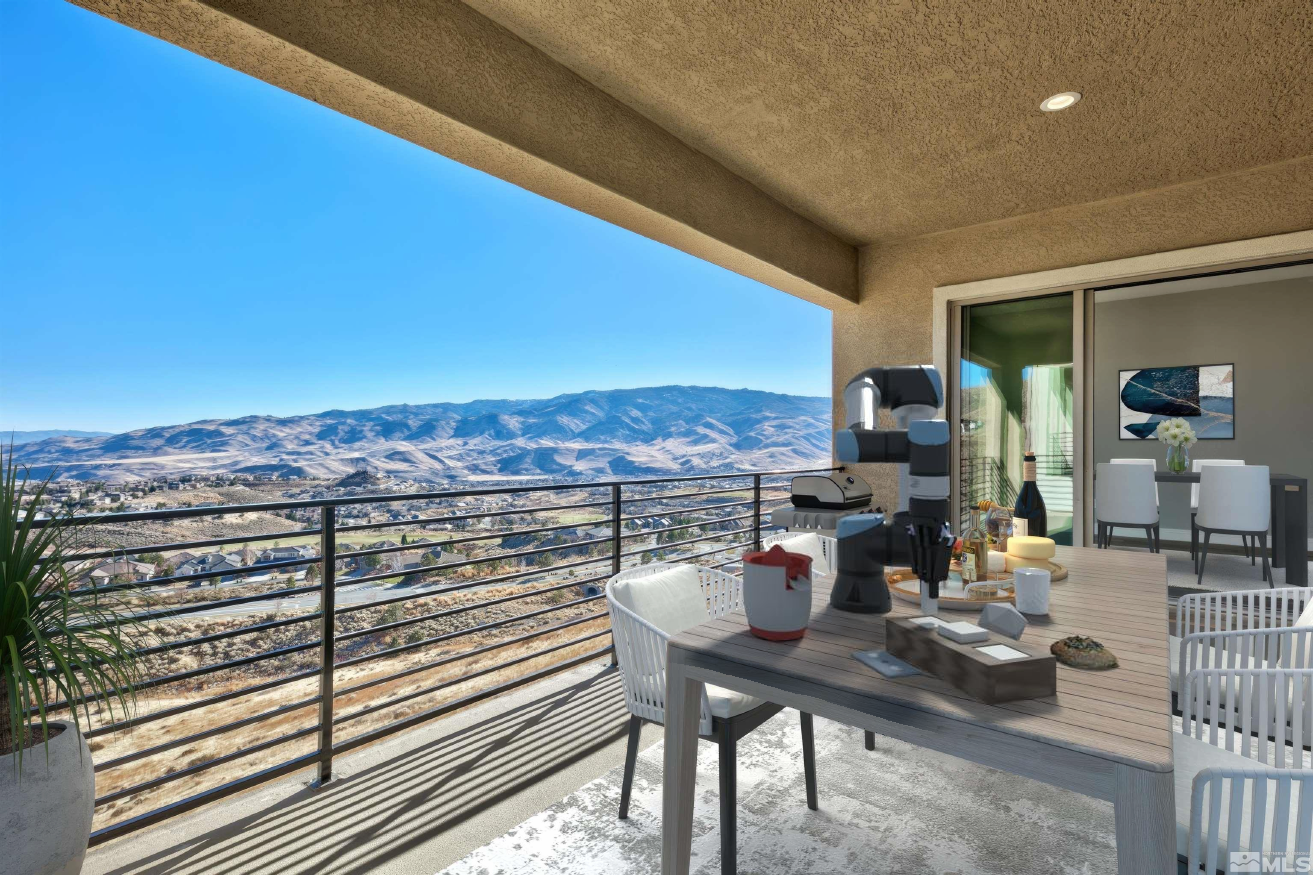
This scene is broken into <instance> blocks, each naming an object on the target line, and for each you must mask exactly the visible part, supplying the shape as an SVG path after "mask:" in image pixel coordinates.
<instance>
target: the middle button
mask: <svg viewBox="0 0 1313 875" xmlns="http://www.w3.org/2000/svg"><path fill="white" fill-rule="evenodd" d="M967 622H968V621H967ZM967 622H955V623H946V624H938V633H939V634H941V635H944V636H946V637H948V638H950V639H953V640H955V641H957V642H960V643H968V642H976V641H984V640H989V631H988V630H985V629H982V628H980V627H977V626H978V625H977V626H975V625H976V624H974V625H972V624H973V623H972V624H970V623H971V622H969V623H967Z"/></svg>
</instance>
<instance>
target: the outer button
mask: <svg viewBox="0 0 1313 875" xmlns="http://www.w3.org/2000/svg"><path fill="white" fill-rule="evenodd" d="M974 649H976V650H978V651H980V652H983V653H985V654H987V655H990V656H992V657H994V658H996V659H999V660H1001V661H1003V660H1011V659H1018V658H1025V657H1030V656H1028V655H1026V654H1023V653H1021V652H1019V651H1016V650H1014V649H1011V648H1009V647H1006V646H1004V645H996V646H988V647H980V648H974Z"/></svg>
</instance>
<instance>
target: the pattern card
mask: <svg viewBox="0 0 1313 875" xmlns="http://www.w3.org/2000/svg"><path fill="white" fill-rule="evenodd" d="M850 656H851V657H852V658H855V660H858V661H860V662H861V663H863V664H865V665H867V666H868V667H869V668H871V669H873V670H875V671H877V672H878V673H879V674H882V675H883V676H885V677H886V678H889V679H891V678H899V677H906V676H912V675H913V676H914V675H920V674H922V671H921V670H920V669H918V668H917V667H914V666H912V664H911V665H910V663H909V664H908V662H904V661H903V660H901V659H899V658H898V657H895V655H893V654H890V653H888V652H887V651H884V650H882V649H877V650H868V651H859V652H853V653H850Z"/></svg>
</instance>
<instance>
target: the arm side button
mask: <svg viewBox="0 0 1313 875" xmlns="http://www.w3.org/2000/svg"><path fill="white" fill-rule="evenodd" d="M907 620H909V621H911V622H914V623H916V624H918V625H921V626H923V627H925V628H934V627H938V624H946V623H947V622H944V621H942V620H939V619H937V618H934V617H932V616H931V617H922V618H913V619H907Z"/></svg>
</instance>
